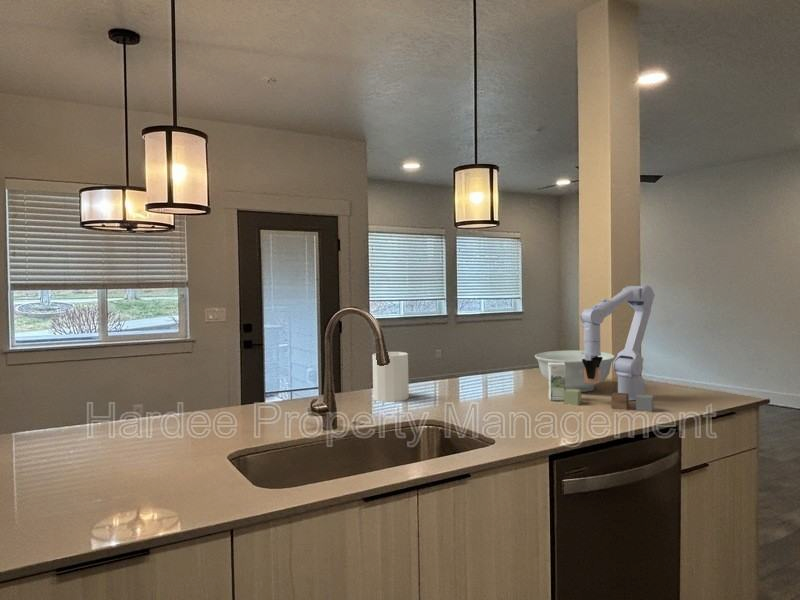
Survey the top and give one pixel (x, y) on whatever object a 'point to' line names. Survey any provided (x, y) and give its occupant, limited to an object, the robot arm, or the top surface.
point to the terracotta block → (596, 378)
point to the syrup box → (556, 381)
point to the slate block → (644, 403)
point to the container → (391, 378)
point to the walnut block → (620, 401)
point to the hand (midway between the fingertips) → (592, 377)
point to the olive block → (572, 396)
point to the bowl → (574, 367)
